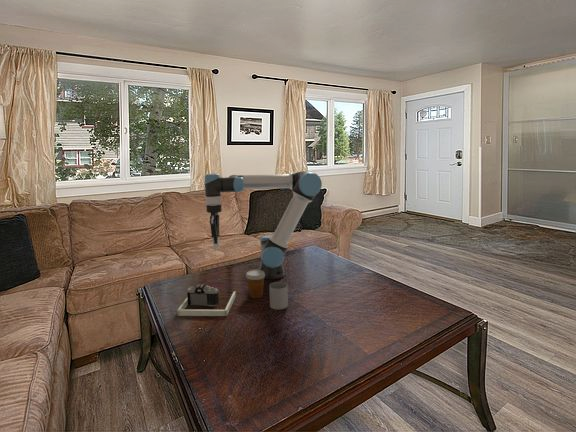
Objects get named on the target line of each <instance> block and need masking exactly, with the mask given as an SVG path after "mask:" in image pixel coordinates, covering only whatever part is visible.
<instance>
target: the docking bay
mask: <svg viewBox="0 0 576 432" xmlns="http://www.w3.org/2000/svg"><path fill="white" fill-rule="evenodd" d="M236 298H237V291H232V294H231V296H230V298H229V300H228V301H227V302H228V303H227V304H226V307H225V309H191V308H190V309H188V308H187V306H189V304H188V298H187V297H186V298H185V299H184V301H183V302H182V303H181V305H180V306H179V307H178V308H177V310H176V316H177V317H184V316H185V317H186V316H187V317H227V316H229V312H230V311H231V308H232V306H233V303H234V301H235V299H236ZM186 308H187V309H186Z"/></svg>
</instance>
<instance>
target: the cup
mask: <svg viewBox="0 0 576 432" xmlns="http://www.w3.org/2000/svg"><path fill="white" fill-rule="evenodd" d="M268 289H269V308H271V309H273V310H284V309H287V307H288V306H289V304H288V302H289V301H288V300H289V296H288V293H289V292H288V289H289V288H288V284H287V283H286V282H283V281H274V282H271V283H270V284H269V288H268Z"/></svg>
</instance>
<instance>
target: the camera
mask: <svg viewBox="0 0 576 432" xmlns="http://www.w3.org/2000/svg"><path fill="white" fill-rule="evenodd" d="M219 292H220V290H219V289H218V288H215V287H214V286H210V285H208V284H205V283H199V284H198V285H192V286H190V287H188V288H187V293H186V296H187V297H186V298H188V306H189V305H190V306H201V307H202V306H203V307H204V306H205V307H217V306H218V305H219V303H220V302H219V301H220V300H219V298H220V297H219Z"/></svg>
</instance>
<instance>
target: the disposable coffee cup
mask: <svg viewBox="0 0 576 432" xmlns="http://www.w3.org/2000/svg"><path fill="white" fill-rule="evenodd" d="M245 277H246V280H247V281H246V282H247V286H248V292H249V297H250V298H252V299H259V298H261V297H263V294H264V293H263V292H264V286H265V285H264V283H265V279H264V277H265V273H264V271H262V270H259V269H251V270H249V271H247V272H246V275H245Z"/></svg>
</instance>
